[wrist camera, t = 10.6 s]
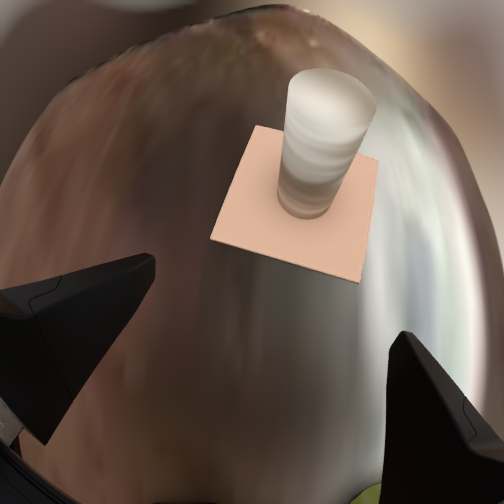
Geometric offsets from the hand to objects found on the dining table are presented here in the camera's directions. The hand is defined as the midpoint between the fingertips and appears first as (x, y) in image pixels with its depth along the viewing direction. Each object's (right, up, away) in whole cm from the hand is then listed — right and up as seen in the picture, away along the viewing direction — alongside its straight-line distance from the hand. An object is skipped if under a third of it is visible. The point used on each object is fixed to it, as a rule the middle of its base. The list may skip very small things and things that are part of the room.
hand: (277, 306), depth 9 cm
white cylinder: (+4, +7, +16) cm, 18 cm away
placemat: (+4, +7, +16) cm, 18 cm away
